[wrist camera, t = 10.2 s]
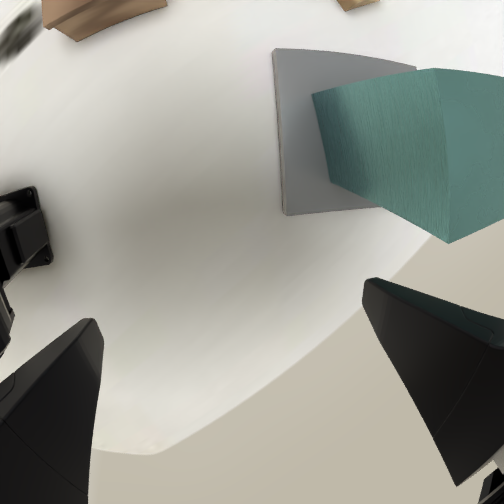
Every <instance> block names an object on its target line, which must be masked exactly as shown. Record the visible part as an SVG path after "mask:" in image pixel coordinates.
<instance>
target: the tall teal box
mask: <svg viewBox="0 0 504 504" xmlns="http://www.w3.org/2000/svg"><path fill="white" fill-rule="evenodd" d="M311 95H312V99H313V103H314V107H315V112H316V116H317V120H318V125H319V129H320V134H321V138H322V143H323V148H324V153H325V158H326V163H327V168H328V173H329V179H330V182H331V183H333V184H335V185H337V186H340V187H342V188H344V189H346V190H348V191H350V192H352V193H355V194H357V195H359V196H361V197H363V198H365V199H367V200H369V201H371V202H373V203H375V204H377V205H379V206H381V207H383V208H385V209H387V210H389V211H390V212H392V213H394V214H396V215H398V216H400V217H402V218H404V219H406V220H407V221H409V222H411V223H413V224H415V225H416V226H418V227H420V228H422V229H424V230H425V231H427V232H429V233H431V234H432V235H434V236H436V237H437V238H439V239H441V240H443V241H444V242H446V243H448V244H449V243H452V242H454V241H456V240H459V239H461V238H463V237H465V236H468V235H470V234H472V233H474V232H476V231H478V230H481V229H483V228H485V227H487V226H489V225H491V224H493V223H495V222H497V221H500V220H502V219H504V77H500V76H495V75H489V74H483V73H476V72H469V71H461V70H451V69H440V68H431V69H423V70H416V71H410V72H404V73H398V74H392V75H387V76H382V77H377V78H372V79H368V80H363V81H359V82H354V83H350V84H346V85H342V86H338V87H334V88H331V89H327V90H323V91H320V92H316V93H313V94H311Z"/></svg>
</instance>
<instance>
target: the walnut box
mask: <svg viewBox="0 0 504 504" xmlns="http://www.w3.org/2000/svg"><path fill="white" fill-rule="evenodd" d="M41 1H42V16H43V27H45V28H46V29H48V30H50V29H52V28H55V29H57V30H59V31H60V32H62V33H64V34H65V35H67V36H68V37H70V38H72V39H73V40H75V41H76V42H78V41H80V40H82V39H84V38H86V37H88V36H90V35H92V34H94V33H96V32H99V31H101V30H103V29H105V28H107V27H110V26H112V25H115V24H117V23H119V22H122V21H124V20H127V19H130V18H132V17H135V16H138V15H140V14H143V13H146V12H149V11H152V10H155V9H158V8H162V7H165V6H167V2H166V0H41Z"/></svg>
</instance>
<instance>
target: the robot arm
mask: <svg viewBox="0 0 504 504" xmlns="http://www.w3.org/2000/svg"><path fill="white" fill-rule="evenodd" d="M29 190H30V191H31V195H30V194H29ZM46 256H47V257H48V258H49V260H48V259H47V258H46ZM52 261H53V255H52V251H51V248H50V245H49V239H48V235H47V232H46V228H45V224H44V220H43V217H42V212H41V211H40V207H39V202H38V198H37V193H36V189H35V188H34V187H33V186H29V187H26V188H23V189H20V190H17V191H14V192H11V193H8V194H5V195H3V196H0V358H1V357H2V355H3V354H4V351H5V349H6V348H7V346H8V345H9V343H10V340H11V337H10V335H9V334H10V330H11V327H12V323H13V320H14V317H15V314H14V311H13V309H12V308H11V307H10V305H9V302H8V300H7V297H6V295H5V292H4V288H5V287H6V286H7V284H8V283H9V282H10V281H11V280H12V279H13V278H14V277H15V276H16V275H17V274H18V273H19V272H20V271H21V270H22V269H25V268H31V267H37V266H43V265H49V264H50V263H51V262H52ZM362 305H363V308H364V310H365V312H366V314H367V316H368V318H369V320H370V322H371V324H372V327H373V329H374V331H375V333H376V335H377V338H378V339H379V341H380V343H381V345H382V347H383V348H384V350H385V352H386V353H387V355H388V357H389V358H390V360H391V362H392V364H393V365H394V367H395V369H396V371H397V372H398V374H399V376H400V378H401V379H402V381H403V383H404V385H405V387H406V388H407V390H408V392H409V394H410V396H411V397H412V399H413V401H414V403H415V405H416V407H417V409H418V410H419V412H420V414H421V416H422V418H423V420H424V422H425V423H426V426H427V428H428V429H429V431H430V433H431V435H432V437H433V440H434V442H435V444H436V446H437V448H438V450H439V452H440V454H441V456H442V458H443V460H444V462H445V464H446V466H447V468H448V471H449V473H450V475H451V477H452V479H453V482H454V484H455V485H456V486H459V485H460V484H462V483H463V482H465V481H466V480H467V479H469V478H470V477H471V476H473V475H474V474H476V473H477V472H478V471H480V470H481V469H482V468H483V467H485V466H486V465H487V464H488V463H490V462H491V461H492V460H494V461H495V463H496V465H497V466H498V468H497V469H496V470H495V471H493V472H492V473H491V474H490V475H489V476H487V477H486V478H485V479H484V482H483V487H482V491H481V494H480V498H479V502H478V504H504V319H501V318H497V317H494V316H490V315H487V314H484V313H480V312H477V311H474V310H471V309H468V308H465V307H462V306H459V305H457V304H454V303H451V302H448V301H445V300H442V299H439V298H436V297H433V296H430V295H428V294H425V293H421V292H419V291H416V290H413V289H410V288H407V287H404V286H401V285H398V284H395V283H392V282H389V281H386V280H383V279H380V278H377V277H375V278H370V279H367V280H366V281H365V282H364V289H363V297H362ZM103 350H104V339H103V336H102V334H101V332H100V329H99V327H98V324H97V322H96V320H95V319H94V318H84V319H82V320H80V321H79V322H78V323H76V324H75V325H74V326H72V327H71V328H70V329H68V330H67V331H66V332H64V333H63V334H62V335H60V336H59V337H58V338H56V339H55V340H54V341H53V342H51V343H50V344H49V345H47V346H46V347H45V348H44V349H42V350H41V351H40V352H38V353H37V354H36V355H35V356H33V357H32V358H31V359H30V360H28V361H27V362H26V363H25V364H23V365H22V366H21V367H20V368H18V369H17V370H16V371H15V373H12V374H11V375H10V376H8V377H7V378H6V379H5V380H4V381H2V382H1V383H0V504H88V485H89V469H90V456H91V446H92V437H93V429H94V421H95V414H96V408H97V401H98V395H99V389H100V383H101V373H102V360H103Z"/></svg>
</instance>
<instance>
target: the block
mask: <svg viewBox="0 0 504 504" xmlns="http://www.w3.org/2000/svg"><path fill="white" fill-rule="evenodd" d="M337 1H338V3H339V4H340V5H341V7H342V8H343V10H344V11H348V10H351V9H354V8H357V7H360V6H364V5H367V4H370V3H374V2H377V1H379V0H337Z"/></svg>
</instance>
